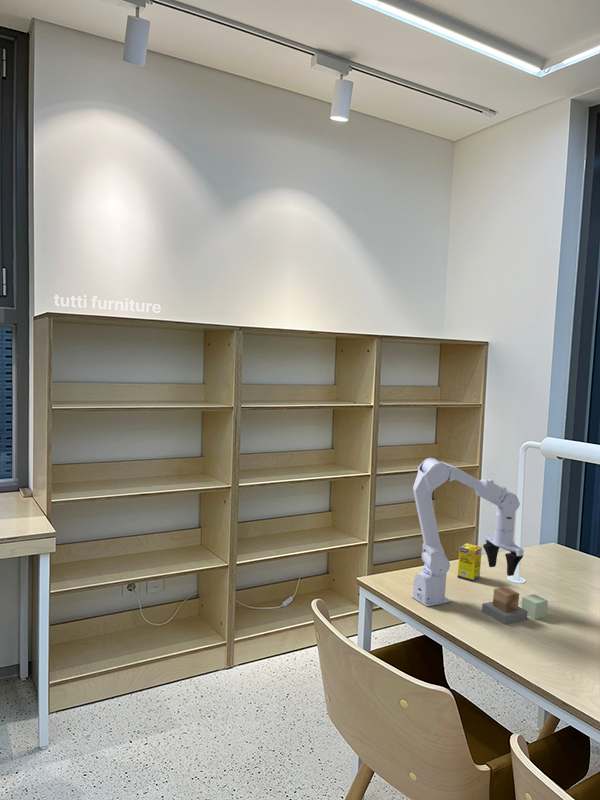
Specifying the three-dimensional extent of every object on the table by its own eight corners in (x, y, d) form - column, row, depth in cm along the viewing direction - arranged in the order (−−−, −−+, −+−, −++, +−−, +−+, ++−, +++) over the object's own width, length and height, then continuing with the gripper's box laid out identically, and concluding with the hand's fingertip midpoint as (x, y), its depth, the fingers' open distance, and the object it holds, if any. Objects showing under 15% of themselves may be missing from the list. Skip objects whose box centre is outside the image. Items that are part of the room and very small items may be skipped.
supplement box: (473, 582, 202) (476, 550, 201) (456, 577, 205) (459, 546, 204) (480, 577, 207) (482, 546, 206) (463, 572, 210) (465, 542, 209)
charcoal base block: (504, 626, 171) (505, 616, 171) (481, 613, 179) (482, 603, 179) (526, 620, 175) (527, 611, 175) (503, 608, 183) (504, 599, 183)
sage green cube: (534, 619, 175) (535, 603, 175) (521, 612, 180) (522, 596, 179) (546, 616, 177) (547, 600, 177) (533, 610, 182) (534, 594, 181)
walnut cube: (505, 612, 173) (506, 595, 173) (492, 605, 178) (494, 588, 177) (517, 609, 176) (519, 593, 175) (505, 602, 180) (506, 586, 180)
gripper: (531, 534, 182) (528, 577, 183) (496, 521, 194) (493, 561, 196) (515, 536, 178) (511, 580, 180) (480, 523, 191) (477, 564, 192)
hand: (501, 570), depth 187 cm, fingers open, 7 cm apart
